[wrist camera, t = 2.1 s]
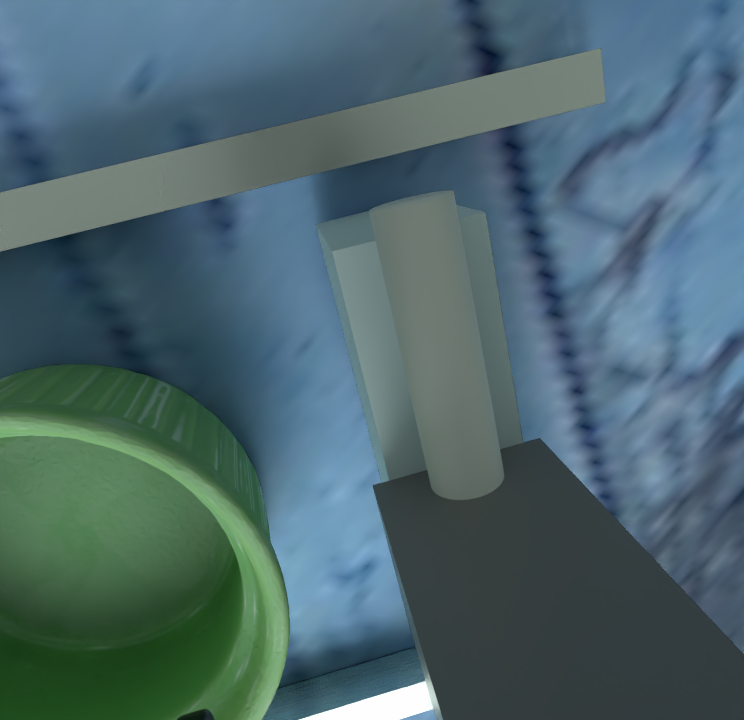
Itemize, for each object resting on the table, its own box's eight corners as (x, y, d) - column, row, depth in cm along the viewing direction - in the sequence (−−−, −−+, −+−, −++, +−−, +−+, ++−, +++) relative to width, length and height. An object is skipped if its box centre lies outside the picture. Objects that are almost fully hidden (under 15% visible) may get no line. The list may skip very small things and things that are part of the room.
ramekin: (348, 563, 17) (372, 698, 12) (49, 719, 17) (-25, 905, 13) (157, 264, 13) (105, 311, 9) (-207, 458, 14) (-416, 591, 9)
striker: (434, 168, 13) (1040, 216, 3) (517, 615, 17) (892, 1322, 7) (295, 203, 13) (381, 396, 3) (412, 647, 17) (632, 1426, 7)
